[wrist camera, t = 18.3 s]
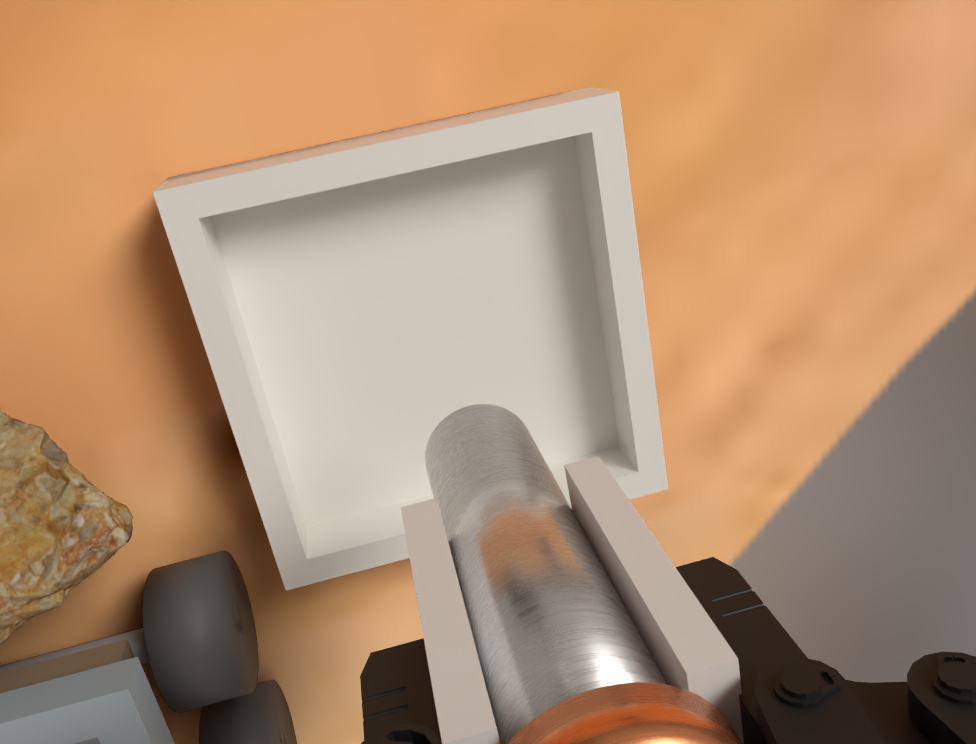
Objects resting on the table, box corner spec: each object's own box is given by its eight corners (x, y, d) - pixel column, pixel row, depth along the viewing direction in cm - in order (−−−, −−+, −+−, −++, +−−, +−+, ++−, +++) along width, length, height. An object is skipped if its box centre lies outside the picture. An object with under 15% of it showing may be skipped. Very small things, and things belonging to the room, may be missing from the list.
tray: (169, 177, 28) (152, 192, 25) (590, 87, 29) (618, 91, 26) (288, 545, 33) (285, 590, 30) (640, 453, 34) (668, 489, 32)
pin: (392, 402, 21) (472, 798, 10) (542, 372, 22) (780, 717, 10) (419, 534, 23) (516, 1011, 11) (559, 502, 23) (787, 932, 12)
